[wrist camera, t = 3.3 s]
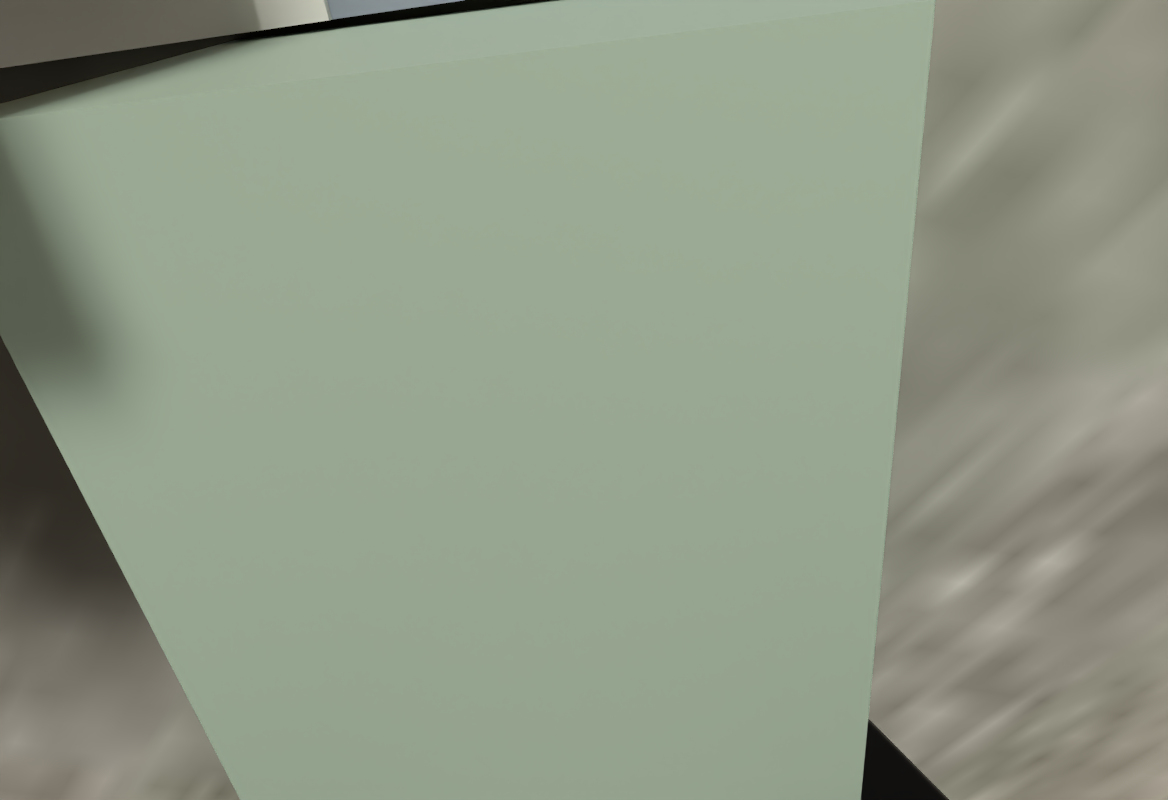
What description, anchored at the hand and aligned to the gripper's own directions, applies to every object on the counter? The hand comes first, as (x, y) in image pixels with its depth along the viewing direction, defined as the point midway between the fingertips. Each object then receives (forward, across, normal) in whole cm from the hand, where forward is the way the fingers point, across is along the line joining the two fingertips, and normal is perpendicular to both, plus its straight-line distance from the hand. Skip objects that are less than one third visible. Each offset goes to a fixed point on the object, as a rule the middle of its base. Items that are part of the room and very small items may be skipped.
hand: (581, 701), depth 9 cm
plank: (+1, 0, 0) cm, 1 cm away
